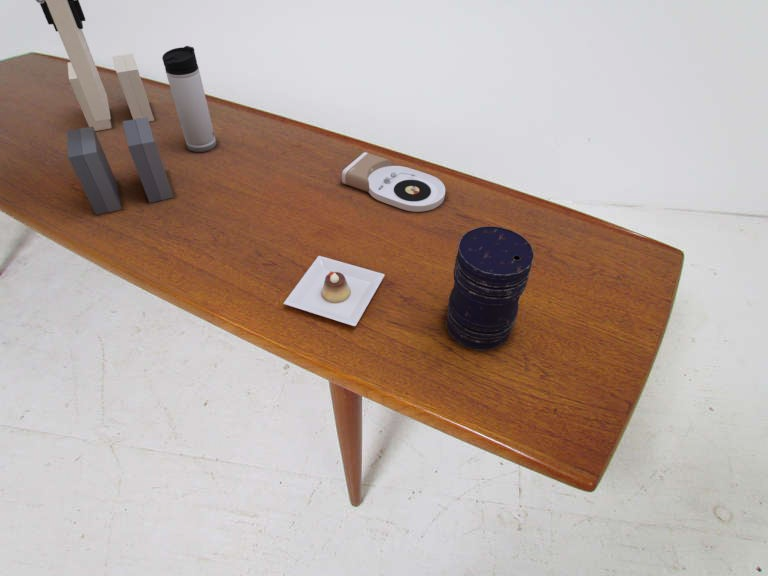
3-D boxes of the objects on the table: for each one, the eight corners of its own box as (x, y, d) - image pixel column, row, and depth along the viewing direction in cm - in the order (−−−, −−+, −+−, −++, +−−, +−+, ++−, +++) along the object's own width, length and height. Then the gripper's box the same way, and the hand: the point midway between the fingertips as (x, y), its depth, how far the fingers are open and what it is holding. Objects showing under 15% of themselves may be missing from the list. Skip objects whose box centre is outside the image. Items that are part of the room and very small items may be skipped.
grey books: (96, 215, 92) (68, 157, 83) (92, 187, 98) (66, 130, 90) (173, 197, 96) (154, 141, 88) (165, 172, 103) (147, 116, 94)
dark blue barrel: (433, 331, 74) (444, 255, 63) (463, 292, 80) (478, 217, 69) (494, 362, 70) (517, 286, 59) (521, 319, 76) (546, 243, 65)
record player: (368, 148, 105) (455, 176, 98) (368, 161, 107) (453, 189, 100) (338, 174, 98) (430, 206, 91) (338, 187, 100) (428, 219, 93)
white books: (91, 131, 114) (68, 79, 105) (88, 113, 120) (67, 62, 111) (154, 120, 118) (137, 69, 110) (148, 103, 124) (132, 53, 116)
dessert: (319, 260, 84) (317, 238, 81) (385, 279, 81) (385, 257, 78) (283, 308, 76) (279, 286, 73) (355, 331, 73) (354, 309, 70)
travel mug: (223, 142, 111) (202, 49, 97) (202, 155, 107) (176, 60, 93) (203, 135, 114) (179, 42, 99) (181, 147, 110) (153, 53, 95)
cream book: (95, 121, 85) (44, -2, 72) (92, 98, 92) (45, -20, 78) (110, 119, 86) (63, -4, 73) (107, 95, 92) (62, -22, 79)
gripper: (77, -126, 71) (121, 15, 84) (-57, -124, 66) (13, 26, 79) (78, -119, 67) (125, 29, 80) (-65, -116, 61) (10, 41, 74)
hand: (69, 26), depth 79 cm, fingers closed on cream book, 2 cm apart
